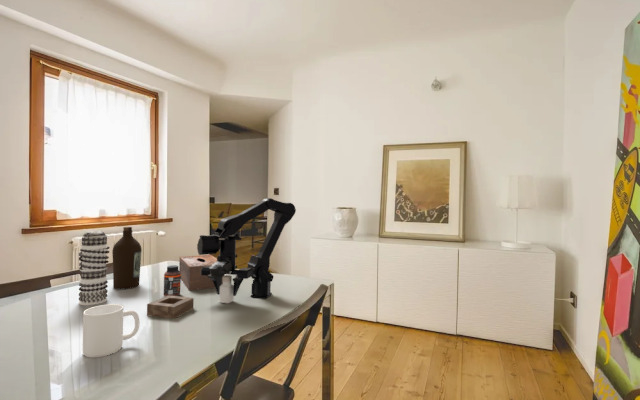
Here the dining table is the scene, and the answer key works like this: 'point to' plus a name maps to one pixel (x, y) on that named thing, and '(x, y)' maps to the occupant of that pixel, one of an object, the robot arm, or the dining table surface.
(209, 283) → the tissue box cover
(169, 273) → the supplement bottle
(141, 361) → the dining table surface
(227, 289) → the salt shaker
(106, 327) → the cup
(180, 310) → the socket block
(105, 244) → the decorative candle
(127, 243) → the olive oil
